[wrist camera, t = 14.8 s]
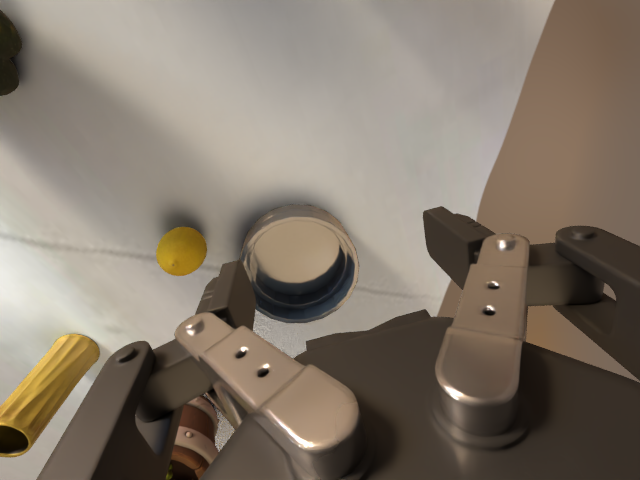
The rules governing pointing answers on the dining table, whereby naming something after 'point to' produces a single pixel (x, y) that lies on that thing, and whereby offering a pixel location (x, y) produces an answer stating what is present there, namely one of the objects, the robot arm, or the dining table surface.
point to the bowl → (299, 263)
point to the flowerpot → (194, 441)
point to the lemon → (181, 251)
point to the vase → (44, 392)
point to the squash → (8, 55)
